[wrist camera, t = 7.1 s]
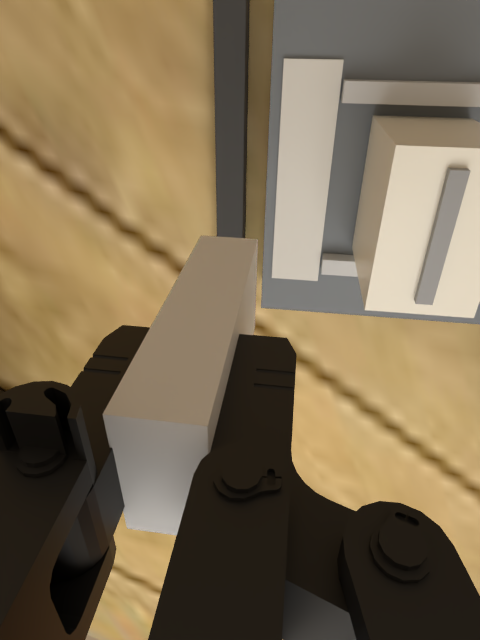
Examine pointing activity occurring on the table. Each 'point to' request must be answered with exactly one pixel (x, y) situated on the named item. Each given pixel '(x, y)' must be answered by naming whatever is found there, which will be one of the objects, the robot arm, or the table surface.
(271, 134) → the panel
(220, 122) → the grey base plate
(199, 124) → the table surface
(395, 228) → the cream sliding block
